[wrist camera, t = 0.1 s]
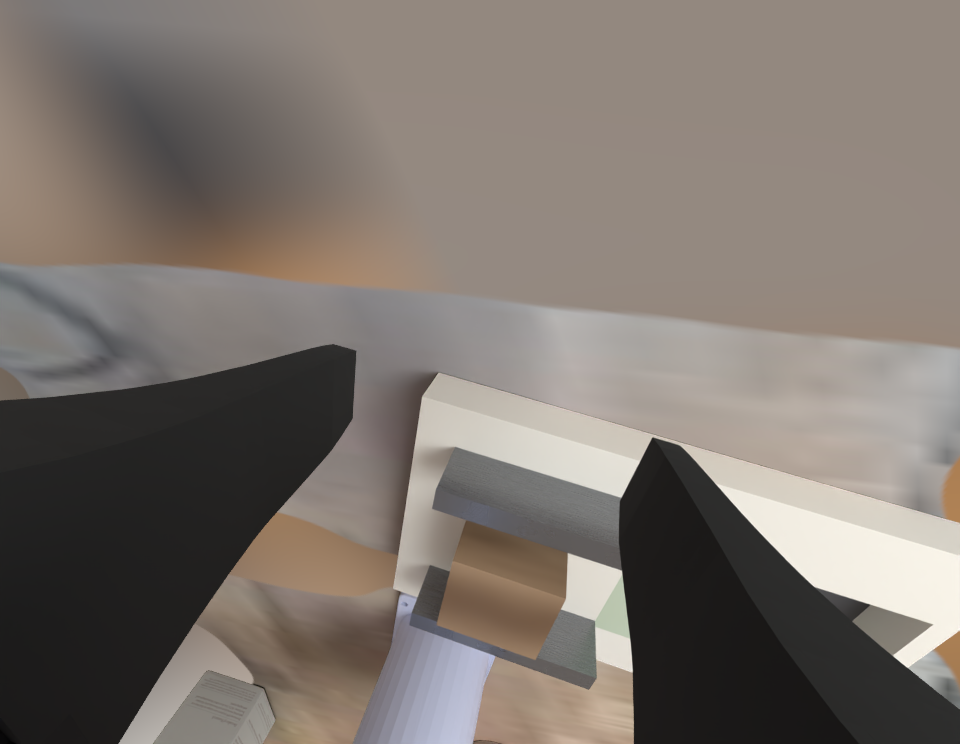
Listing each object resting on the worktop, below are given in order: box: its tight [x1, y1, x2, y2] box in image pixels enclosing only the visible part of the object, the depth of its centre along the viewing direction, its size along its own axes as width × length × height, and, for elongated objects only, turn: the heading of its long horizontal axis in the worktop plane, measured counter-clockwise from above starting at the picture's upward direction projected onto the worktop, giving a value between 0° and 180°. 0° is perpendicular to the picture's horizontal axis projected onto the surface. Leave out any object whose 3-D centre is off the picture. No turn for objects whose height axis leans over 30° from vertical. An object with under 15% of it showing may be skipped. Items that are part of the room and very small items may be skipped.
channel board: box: [393, 373, 960, 673], centre depth 23 cm, size 15×26×2 cm, turn 78°
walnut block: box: [436, 520, 568, 660], centre depth 20 cm, size 5×5×4 cm
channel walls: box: [409, 447, 622, 689], centre depth 21 cm, size 10×10×3 cm
